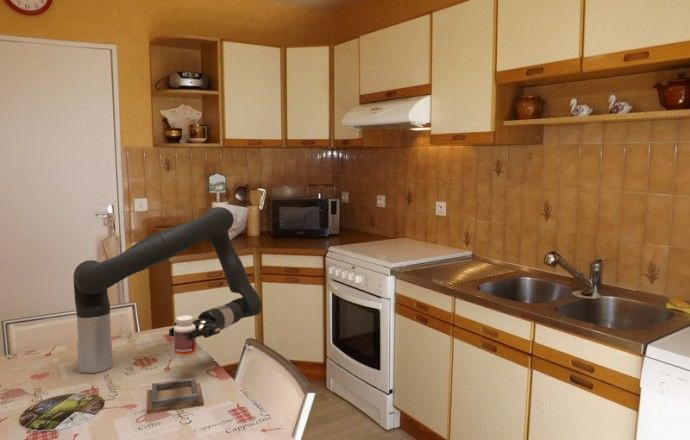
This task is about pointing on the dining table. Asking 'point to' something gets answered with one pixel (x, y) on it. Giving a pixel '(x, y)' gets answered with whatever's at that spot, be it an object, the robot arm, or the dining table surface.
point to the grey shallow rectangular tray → (174, 395)
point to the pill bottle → (184, 337)
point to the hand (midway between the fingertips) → (179, 334)
